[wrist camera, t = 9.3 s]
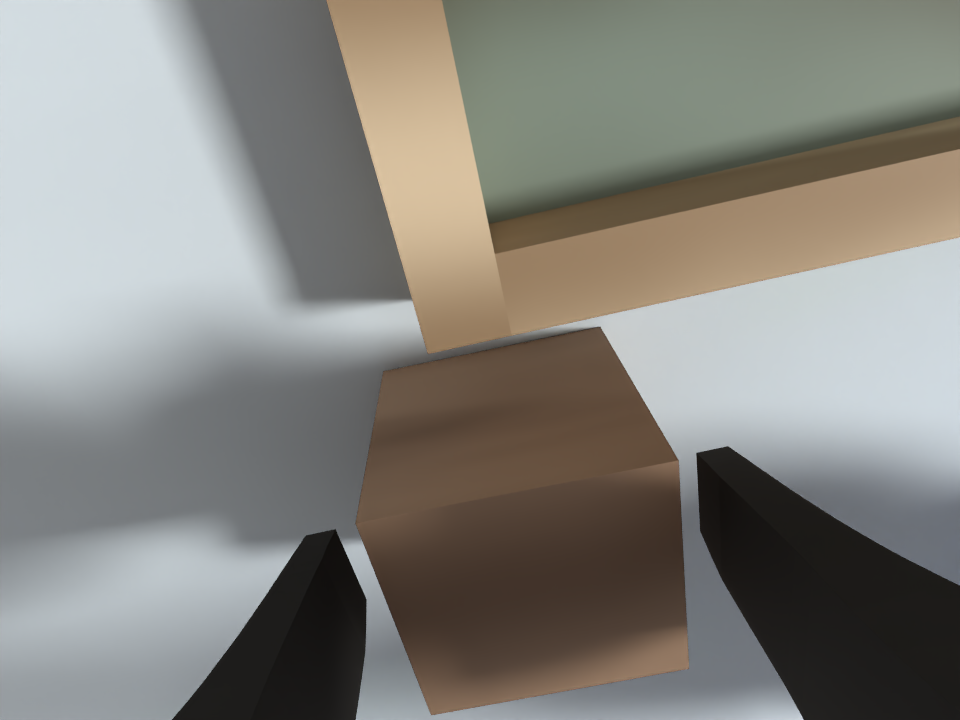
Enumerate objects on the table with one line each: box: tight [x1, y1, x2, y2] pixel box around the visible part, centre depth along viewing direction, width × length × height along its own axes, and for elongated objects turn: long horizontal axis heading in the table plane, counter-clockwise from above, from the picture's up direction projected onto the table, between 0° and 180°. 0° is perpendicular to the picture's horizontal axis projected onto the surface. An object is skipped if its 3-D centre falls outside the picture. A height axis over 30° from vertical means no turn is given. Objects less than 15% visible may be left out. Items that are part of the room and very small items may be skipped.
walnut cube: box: [356, 327, 689, 715], centre depth 12 cm, size 5×5×5 cm
